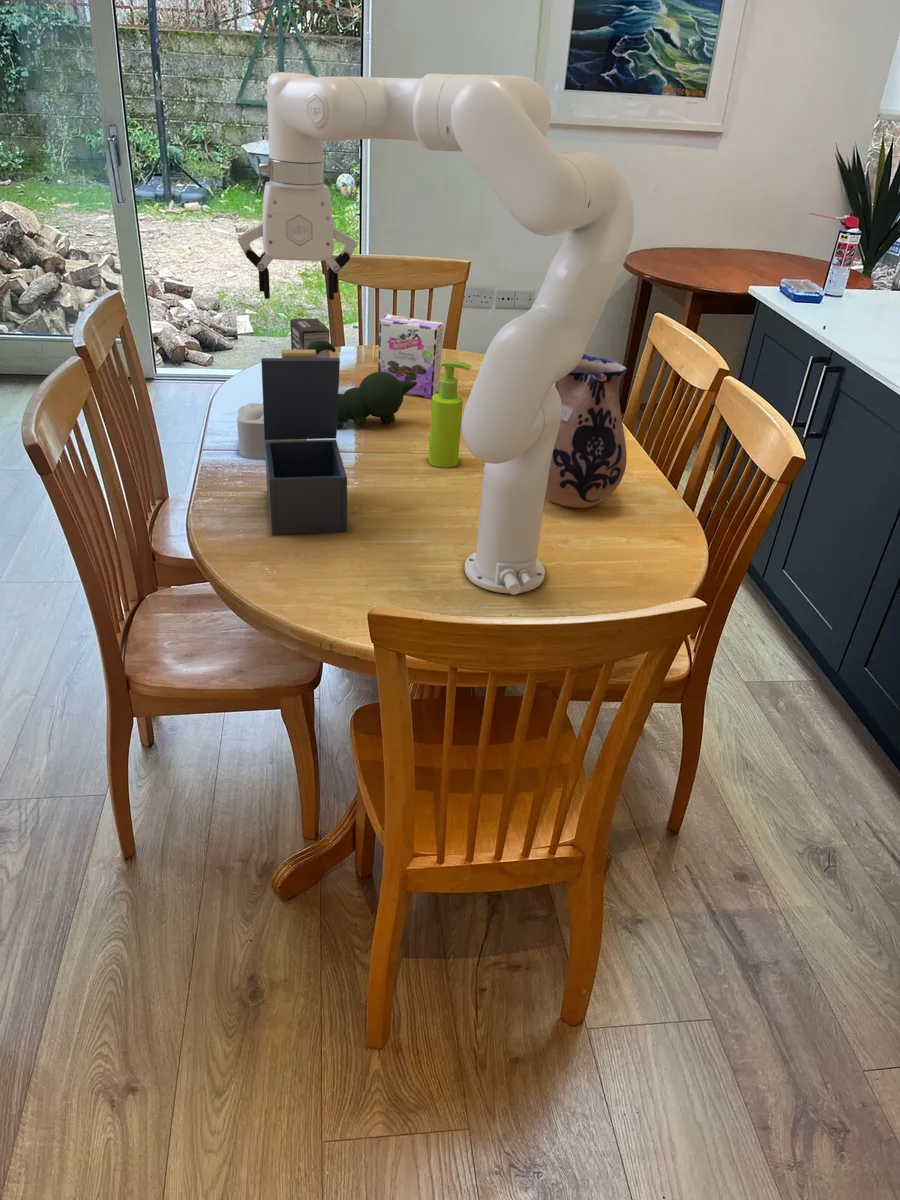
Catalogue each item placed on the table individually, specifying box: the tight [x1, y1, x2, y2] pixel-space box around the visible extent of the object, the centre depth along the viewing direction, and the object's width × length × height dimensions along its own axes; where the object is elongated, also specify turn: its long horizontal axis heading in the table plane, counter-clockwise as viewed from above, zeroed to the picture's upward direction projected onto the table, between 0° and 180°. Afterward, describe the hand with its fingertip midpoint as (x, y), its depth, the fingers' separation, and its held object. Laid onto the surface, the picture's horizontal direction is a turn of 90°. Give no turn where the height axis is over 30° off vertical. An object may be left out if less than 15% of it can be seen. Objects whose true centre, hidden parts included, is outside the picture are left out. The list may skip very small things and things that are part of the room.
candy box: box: [377, 313, 445, 400], centre depth 202 cm, size 14×6×16 cm, turn 73°
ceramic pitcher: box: [545, 353, 628, 509], centre depth 158 cm, size 18×21×25 cm
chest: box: [265, 439, 348, 536], centre depth 148 cm, size 16×12×10 cm
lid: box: [260, 349, 341, 440], centre depth 147 cm, size 17×12×5 cm
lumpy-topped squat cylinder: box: [236, 402, 308, 460], centre depth 171 cm, size 10×13×9 cm
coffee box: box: [289, 317, 331, 358], centre depth 195 cm, size 9×6×16 cm
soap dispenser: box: [427, 359, 472, 469], centre depth 168 cm, size 6×7×20 cm
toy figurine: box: [307, 340, 417, 429], centre depth 182 cm, size 9×19×25 cm
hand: (298, 297), depth 134 cm, fingers open, 9 cm apart
